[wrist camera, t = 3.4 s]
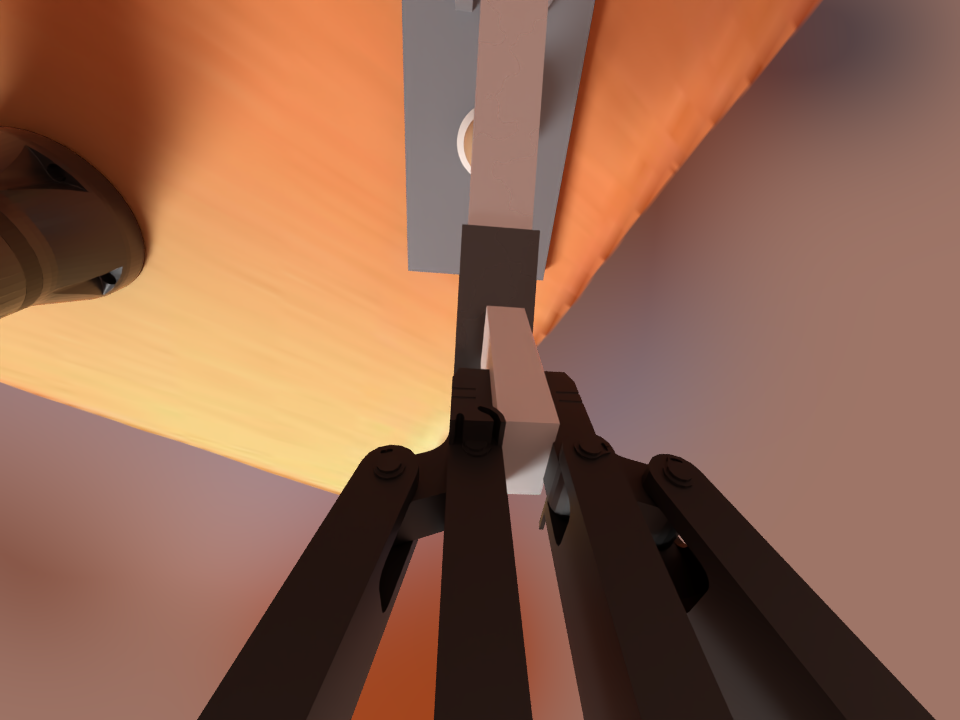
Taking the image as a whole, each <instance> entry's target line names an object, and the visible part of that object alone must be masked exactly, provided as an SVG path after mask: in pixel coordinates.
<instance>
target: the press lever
mask: <svg viewBox="0 0 960 720" xmlns="http://www.w3.org/2000/svg"><path fill="white" fill-rule="evenodd" d="M547 13H548V0H481V3H480V21H479V39H478V56H477V74H476V92H475V107H474V122H473V139H472V157H471V181H470V199H469V216H468V225H467V224H462V236H461V254H460V272H459V290H458V309H457V327H456V345H455V363H454V374H455V373H456V372H457V370H458V369H459V368H473V369H481V356H482V346H483V337H484V327H485V317H486V308H487V306H499V307H514V308H525V312H526V315H527V318H528V321H529V325H530V328H531V331H532V334H533V321H534V307H535V293H536V280H537V266H538V252H539V239H540V230H532V224H533V210H534V196H535V182H536V168H537V154H538V140H539V126H540V111H541V97H542V83H543V69H544V55H545V41H546V27H547Z"/></svg>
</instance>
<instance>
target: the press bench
mask: <svg viewBox="0 0 960 720" xmlns="http://www.w3.org/2000/svg"><path fill="white" fill-rule="evenodd" d="M480 3H481V0H402V26H403V69H404V111H405V154H406V197H407V240H408V271H419V272H433V273H447V274H459V272H460V254H461V236H462V224H467V225H468V216H469V199H470V181H471V157H472V139H473V122H474V107H475V92H476V74H477V56H478V39H479V21H480ZM594 4H595V0H548V13H547V27H546V41H545V55H544V69H543V83H542V97H541V111H540V126H539V140H538V154H537V168H536V182H535V196H534V210H533V224H532V230H540V239H539V252H538V266H537V280H543V277H544V272H545V266H546V261H547V256H548V250H549V245H550V240H551V234H552V229H553V223H554V218H555V213H556V207H557V202H558V197H559V191H560V186H561V181H562V175H563V170H564V165H565V159H566V154H567V148H568V143H569V138H570V132H571V127H572V122H573V116H574V111H575V106H576V100H577V95H578V90H579V84H580V79H581V74H582V68H583V63H584V57H585V52H586V47H587V41H588V36H589V31H590V25H591V20H592V15H593V9H594Z"/></svg>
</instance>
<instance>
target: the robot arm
mask: <svg viewBox="0 0 960 720" xmlns="http://www.w3.org/2000/svg"><path fill="white" fill-rule="evenodd" d="M143 262H144V242H143V238H142V234H141V231H140V228H139V226H138V223H137V221H136V219H135V217H134V215H133V213H132V212H131V210H130V208H129V207H128V205H127V204H126V202H125V201H124V199H123V198H122V197H121V195H120V194H119V193H118V191H117V190H116V189H115V188H114V187H113V186H112V185H111V183H110V182H109V181H108V180H107V179H106V178H105V177H104V176H103V175H102V174H101V173H100V172H98V171H97V170H96V169H95V168H94V167H93V166H92V165H90V164H89V163H88V162H86V161H85V160H84V159H83V158H81V157H80V156H78V155H77V154H75V153H74V152H72V151H71V150H69V149H67V148H66V147H64V146H62V145H61V144H59V143H57V142H55V141H53V140H51V139H48V138H46V137H44V136H41V135H39V134H36V133H33V132H30V131H26V130H23V129H18V128H12V127H0V319H1V318H3V317H5V316H8V315H10V314H12V313H15V312H17V311H19V310H22V309H24V308H27V307H29V306H34V305H44V304H53V303H62V302H71V301H81V300H90V299H96V298H100V297H103V296H106V295H109V294H111V293H113V292H115V291H117V290H119V289H121V288H124V287H125V286H127V285H129V284H130V283H131V282H133V281H134V280H135V279H136V278H137V276H138V275H139V273H140V271H141V269H142V266H143ZM543 483H544V485H545V490H546V495H547V497H546V501H545V505H544V508H543V511H542V515H541V518H540V522H539V529H543V528H544V525H545V522H546V525H547V530H548V535H549V540H550V546H551V551H552V556H553V561H554V567H555V571H556V577H557V582H558V587H559V592H560V598H561V602H562V608H563V613H564V618H565V623H566V629H567V633H568V639H569V644H570V649H571V654H572V660H573V664H574V670H575V675H576V680H577V685H578V691H579V695H580V701H581V706H582V711H583V716H584V720H935V719H934V718H933V717H932V715H931V714H930V713H929V712H928V711H927V710H926V709H925V708H924V707H923V706H922V705H921V704H920V703H919V702H918V701H917V700H916V699H915V698H914V696H912V694H911V693H910V692H909V691H908V690H907V689H906V688H905V687H904V686H903V685H902V684H901V683H900V682H899V681H898V680H897V678H896V677H895V676H894V675H893V674H892V673H891V672H890V671H889V670H888V669H887V668H886V667H885V666H884V665H883V664H882V663H881V662H880V661H879V660H878V658H877V657H876V656H875V655H874V654H873V653H872V652H871V651H870V650H869V649H868V648H867V647H866V646H865V645H864V644H863V642H862V641H860V639H859V638H858V637H857V636H856V635H855V634H854V633H853V632H852V631H851V630H850V629H849V628H848V627H847V626H846V625H845V623H844V622H842V620H841V619H840V618H839V617H838V616H837V615H836V614H835V613H834V612H833V611H832V610H831V609H830V608H829V607H828V605H826V604H825V603H824V601H823V600H822V599H821V598H820V597H819V596H818V595H817V594H816V593H815V592H814V591H813V590H812V589H811V588H810V587H809V585H808V584H807V583H806V582H805V581H804V580H803V579H802V578H801V577H800V576H799V575H798V574H797V573H796V572H795V571H794V570H793V568H791V566H790V565H789V564H788V563H787V562H786V561H785V560H784V559H783V558H782V557H781V556H780V555H779V554H778V553H777V552H776V551H775V550H774V548H773V547H772V546H771V545H770V544H769V543H768V542H767V541H766V540H765V539H764V538H763V537H762V536H761V535H760V534H759V533H758V532H757V530H756V529H754V527H753V526H752V525H751V524H750V523H749V522H748V521H747V520H746V519H745V518H744V517H743V516H742V515H741V513H739V512H738V510H737V509H736V508H735V507H734V506H733V505H732V504H731V503H730V502H729V501H728V500H727V499H726V498H725V497H724V496H723V495H722V493H721V492H720V491H719V490H718V489H717V488H716V487H715V486H714V485H713V484H712V483H711V482H710V481H709V480H708V479H707V478H706V476H705V475H704V474H703V473H702V472H701V471H700V470H699V469H697V468H696V467H695V466H694V465H692V464H691V463H690V462H688V461H686V460H684V459H682V458H681V457H677V456H674V455H670V454H659V455H656V456H654V457H652V459H651V460H650V462H649V464H644V463H641V462H637V461H634V460H630V459H627V458H624V457H621V456H618V455H617V454H615V451H614V450H613V448H612V447H611V445H610V444H609V443H608V442H607V441H606V440H604V439H603V438H602V437H600V436H598V435H596V434H595V432H594V429H593V426H592V424H591V421H590V419H589V417H588V414H587V412H586V409H585V407H584V405H583V403H582V400H581V397H580V395H579V394H578V390H577V387H576V385H575V383H574V381H573V380H572V379H571V378H570V377H569V376H568V375H567V374H566V373H564V372H548V371H544V370H543V367H542V364H541V361H540V357H539V354H538V351H537V347H536V344H535V341H534V338H533V334H532V331H531V328H530V325H529V321H528V318H527V315H526V312H525V308H514V307H499V306H487V308H486V317H485V327H484V337H483V346H482V356H481V369H473V368H459V369H458V370H457V372H456V373H455V374H454V376H453V380H452V397H451V415H450V430H449V435H448V437H447V439H446V440H445V442H444V443H443V444H442V445H440V446H439V447H437V448H435V449H434V450H431V451H428V452H424V453H420V454H416V455H415V454H414V453H413V452H412V451H411V450H410V449H408V448H405V447H403V446H399V445H387V446H382V447H378V448H377V449H375V450H373V451H371V452H369V453H368V454H367V455H366V456H365V458H364V459H363V460H362V461H361V463H360V464H359V466H358V467H357V469H356V470H355V472H354V474H353V475H352V477H351V478H350V480H349V482H348V483H347V485H346V486H345V488H344V489H343V491H342V493H341V494H340V496H339V497H338V499H337V500H336V502H335V504H334V505H333V507H332V508H331V510H330V512H329V513H328V515H327V516H326V518H325V519H324V521H323V522H322V524H321V526H320V527H319V529H318V531H317V532H316V533H315V535H314V537H313V538H312V540H311V542H310V543H309V544H308V546H307V548H306V549H305V551H304V552H303V554H302V556H301V557H300V559H299V560H298V562H297V564H296V565H295V567H294V568H293V570H292V571H291V573H290V575H289V576H288V578H287V579H286V581H285V582H284V584H283V586H282V587H281V589H280V590H279V592H278V593H277V595H276V597H275V598H274V600H273V601H272V603H271V604H270V606H269V607H268V609H267V611H266V612H265V614H264V615H263V617H262V619H261V620H260V622H259V623H258V625H257V626H256V628H255V630H254V631H253V633H252V634H251V636H250V637H249V639H248V641H247V642H246V644H245V645H244V647H243V648H242V650H241V652H240V653H239V655H238V656H237V658H236V660H235V661H234V663H233V664H232V666H231V667H230V669H229V670H228V672H227V674H226V675H225V677H224V678H223V680H222V682H221V683H220V685H219V687H218V688H217V690H216V691H215V693H214V694H213V696H212V697H211V699H210V700H209V702H208V704H207V705H206V707H205V708H204V710H203V711H202V713H201V715H200V716H199V718H198V719H197V720H351V718H352V715H353V713H354V710H355V707H356V705H357V702H358V699H359V696H360V694H361V691H362V689H363V686H364V683H365V680H366V678H367V675H368V673H369V670H370V667H371V665H372V662H373V659H374V656H375V654H376V651H377V649H378V646H379V643H380V640H381V638H382V635H383V632H384V630H385V627H386V624H387V622H388V619H389V616H390V613H391V611H392V608H393V605H394V603H395V600H396V598H397V595H398V592H399V589H400V587H401V584H402V581H403V579H404V576H405V574H406V571H407V568H408V565H409V563H410V560H411V557H412V554H413V552H414V549H415V547H416V544H417V541H418V539H419V538H422V537H426V536H429V535H432V534H435V533H438V532H442V531H444V543H443V561H442V579H441V598H440V616H439V636H438V654H437V672H436V691H435V692H436V693H435V710H434V720H533V719H532V711H531V701H530V692H529V684H528V675H527V665H526V656H525V647H524V639H523V630H522V620H521V612H520V603H519V593H518V584H517V575H516V567H515V557H514V549H513V540H512V531H511V522H510V513H509V504H508V495H507V494H536V495H538V494H539V495H540V494H541V490H542V487H543ZM678 535H680V536H681V538H682V539H683V540H684V542H685V543H686V544H687V545H686V544H684V543H683V542H682V541H681V540H680V538H679V537H678Z"/></svg>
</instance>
